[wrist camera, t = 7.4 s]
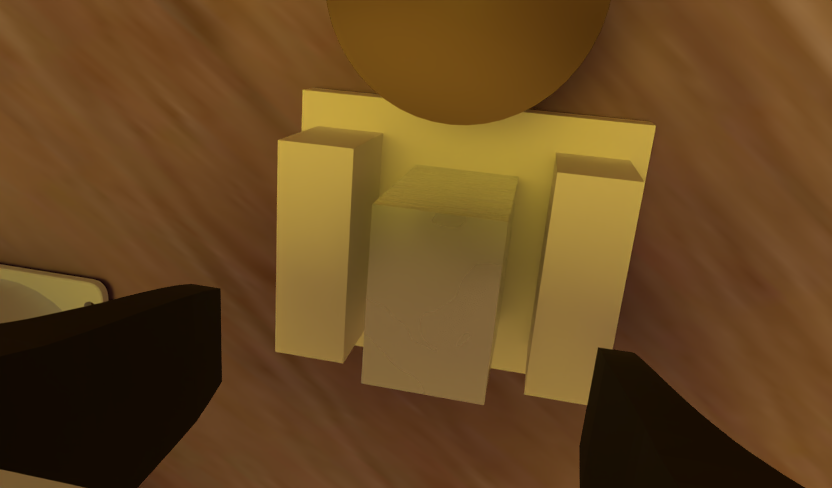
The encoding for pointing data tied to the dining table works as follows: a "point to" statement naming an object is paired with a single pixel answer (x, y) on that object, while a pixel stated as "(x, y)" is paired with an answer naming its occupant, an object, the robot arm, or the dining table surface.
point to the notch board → (530, 237)
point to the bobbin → (466, 52)
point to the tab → (437, 281)
